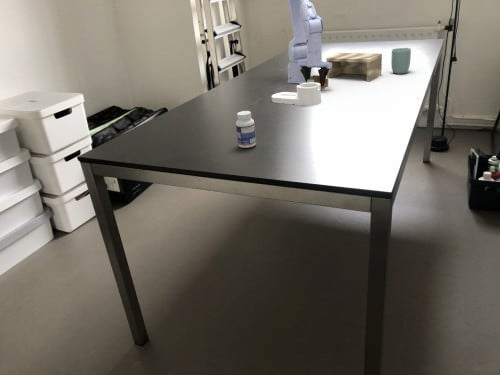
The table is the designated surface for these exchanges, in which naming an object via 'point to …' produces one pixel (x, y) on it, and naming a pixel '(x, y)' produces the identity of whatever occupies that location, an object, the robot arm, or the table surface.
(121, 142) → the table surface
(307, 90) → the bracket
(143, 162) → the table surface
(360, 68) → the wooden crate
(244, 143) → the pill bottle
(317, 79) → the caddy
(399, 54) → the cup
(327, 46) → the table surface
